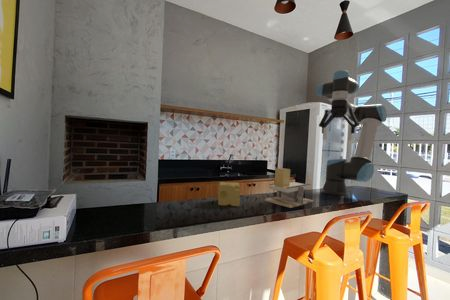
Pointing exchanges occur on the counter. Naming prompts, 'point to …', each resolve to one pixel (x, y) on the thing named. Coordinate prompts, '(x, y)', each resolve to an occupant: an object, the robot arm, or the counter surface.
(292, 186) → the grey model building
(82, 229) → the counter surface
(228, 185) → the cheese
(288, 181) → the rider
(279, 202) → the stand
